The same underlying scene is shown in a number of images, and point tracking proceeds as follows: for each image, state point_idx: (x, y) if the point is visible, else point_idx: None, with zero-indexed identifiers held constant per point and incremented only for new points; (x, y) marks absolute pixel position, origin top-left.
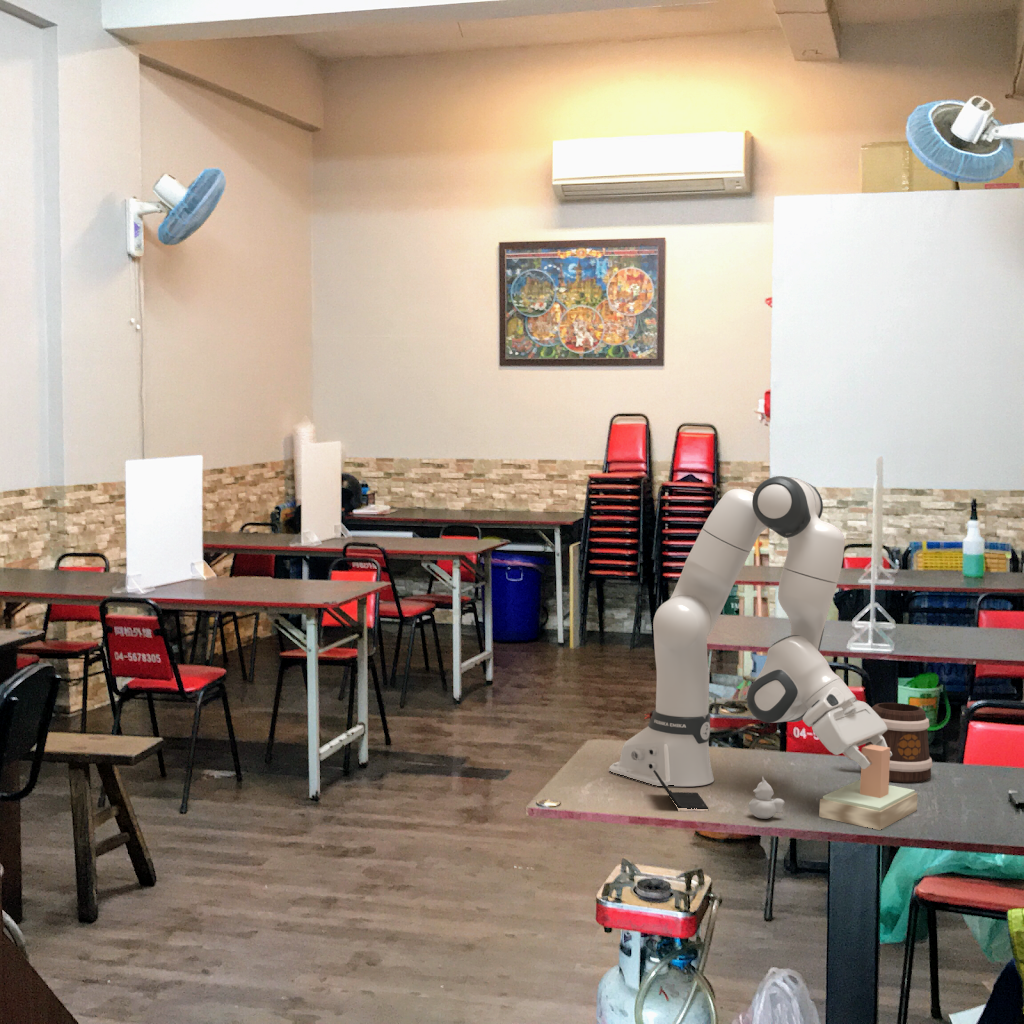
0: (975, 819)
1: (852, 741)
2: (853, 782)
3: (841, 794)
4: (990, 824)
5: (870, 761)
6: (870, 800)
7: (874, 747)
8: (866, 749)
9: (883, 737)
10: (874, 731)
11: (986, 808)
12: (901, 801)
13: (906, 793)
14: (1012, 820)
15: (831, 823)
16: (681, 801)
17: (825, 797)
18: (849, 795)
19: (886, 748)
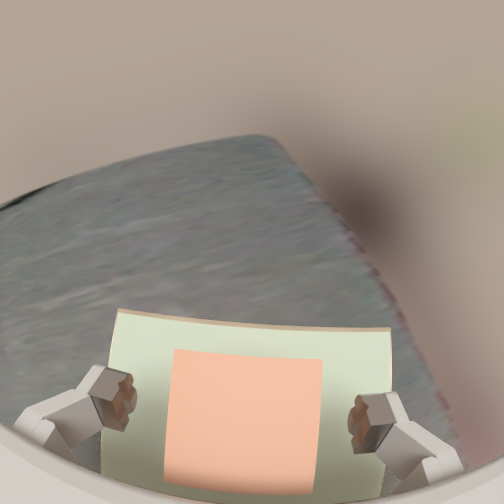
0: (141, 205)
1: (492, 468)
2: (149, 489)
3: (327, 476)
4: (162, 179)
5: (372, 398)
6: (334, 386)
7: (245, 437)
8: (315, 463)
9: (24, 413)
10: (75, 481)
11: (63, 213)
12: (238, 323)
13: (170, 324)
14: (119, 164)
15: None
16: None
17: (379, 489)
18: (322, 455)
19: (217, 362)
